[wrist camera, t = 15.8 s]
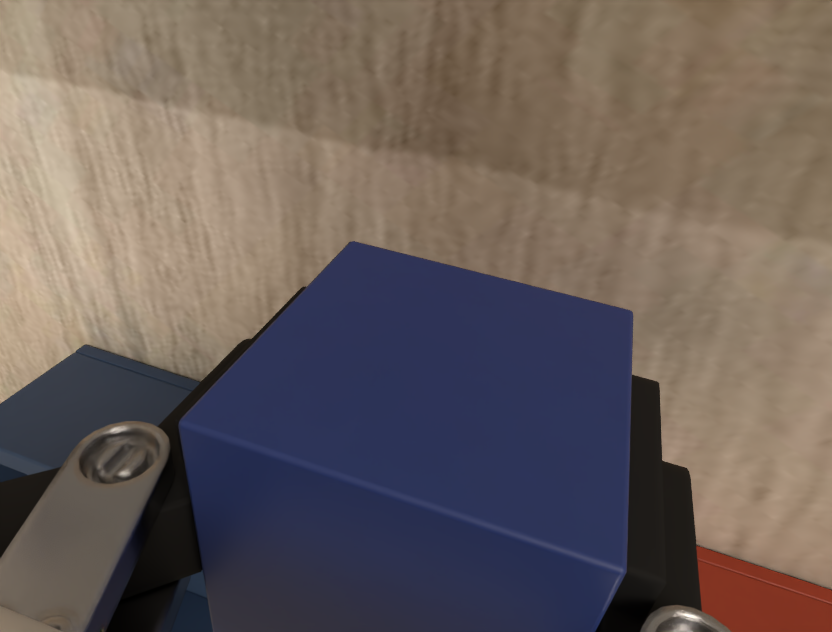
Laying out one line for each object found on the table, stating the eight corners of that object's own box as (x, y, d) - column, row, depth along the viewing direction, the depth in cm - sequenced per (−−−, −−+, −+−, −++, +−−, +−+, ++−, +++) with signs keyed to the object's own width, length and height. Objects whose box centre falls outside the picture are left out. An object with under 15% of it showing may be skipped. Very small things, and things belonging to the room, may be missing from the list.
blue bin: (85, 343, 22) (-44, 432, 18) (438, 459, 19) (381, 597, 15) (138, 566, 29) (56, 665, 25) (397, 674, 26) (352, 804, 22)
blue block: (350, 238, 11) (174, 421, 7) (634, 309, 10) (629, 574, 6) (340, 435, 13) (213, 647, 9) (560, 505, 12) (521, 775, 8)
